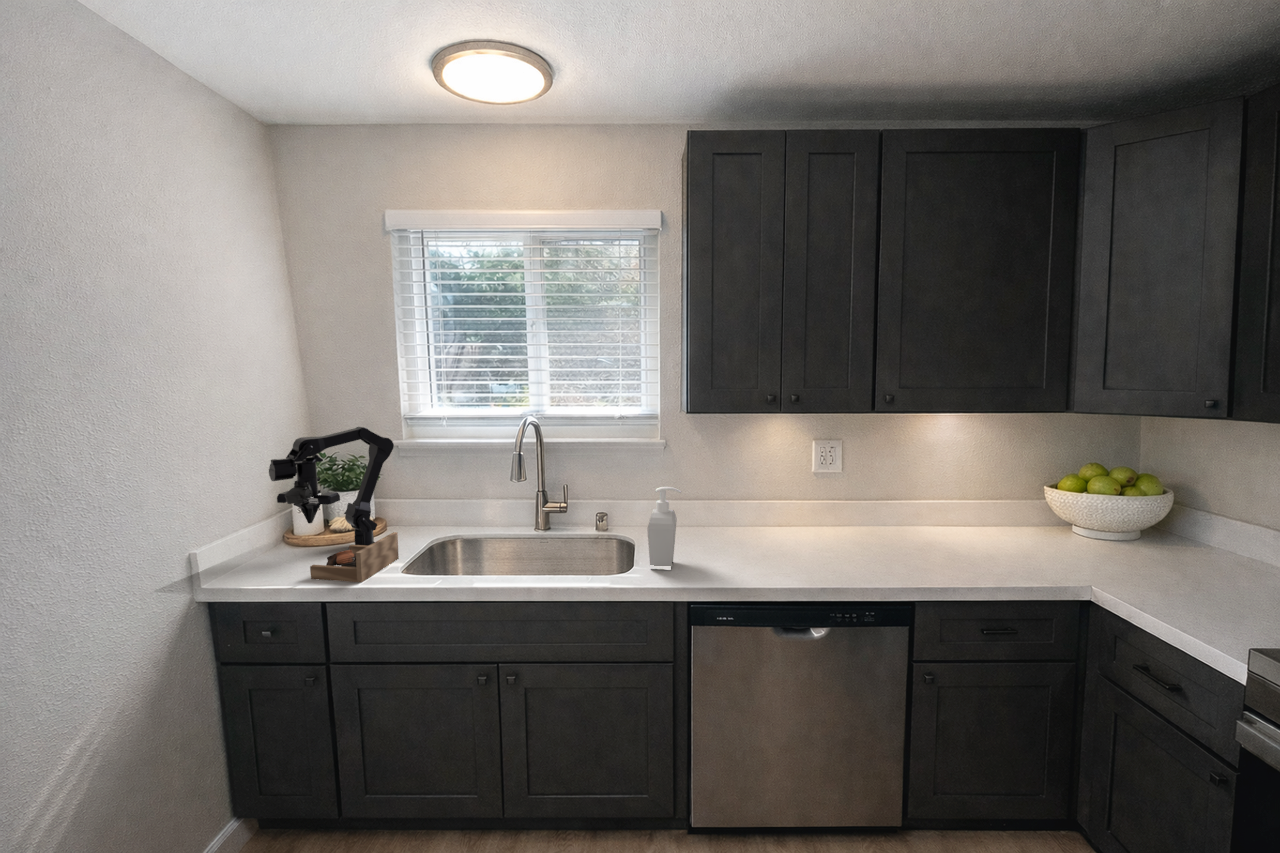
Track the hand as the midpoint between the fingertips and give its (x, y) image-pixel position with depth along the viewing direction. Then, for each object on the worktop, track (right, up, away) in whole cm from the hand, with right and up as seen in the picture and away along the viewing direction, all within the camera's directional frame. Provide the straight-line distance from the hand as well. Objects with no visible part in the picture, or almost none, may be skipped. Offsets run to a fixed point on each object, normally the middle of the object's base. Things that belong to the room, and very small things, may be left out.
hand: (310, 523), depth 203 cm
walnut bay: (+18, -13, -8) cm, 24 cm away
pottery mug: (+18, -14, -12) cm, 25 cm away
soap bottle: (+116, -14, -3) cm, 117 cm away
